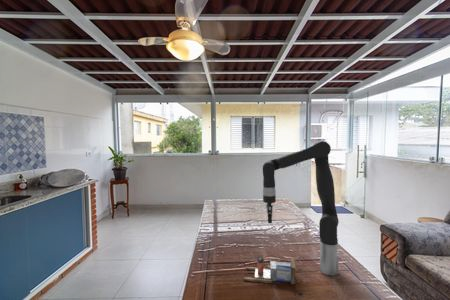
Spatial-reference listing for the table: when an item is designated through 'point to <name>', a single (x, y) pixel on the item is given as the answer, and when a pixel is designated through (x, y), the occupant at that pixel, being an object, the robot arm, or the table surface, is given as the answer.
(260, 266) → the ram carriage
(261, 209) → the table surface
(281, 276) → the medicine box
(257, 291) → the table surface
